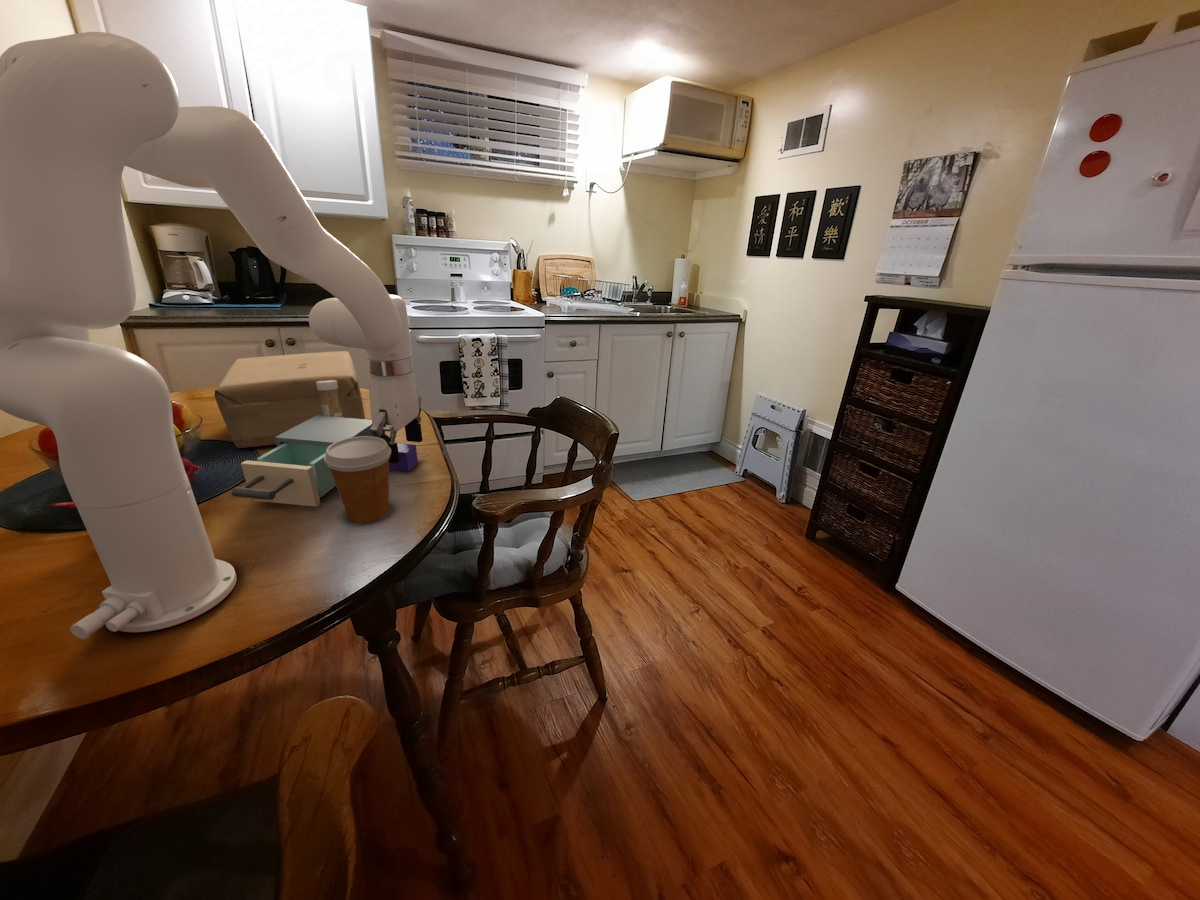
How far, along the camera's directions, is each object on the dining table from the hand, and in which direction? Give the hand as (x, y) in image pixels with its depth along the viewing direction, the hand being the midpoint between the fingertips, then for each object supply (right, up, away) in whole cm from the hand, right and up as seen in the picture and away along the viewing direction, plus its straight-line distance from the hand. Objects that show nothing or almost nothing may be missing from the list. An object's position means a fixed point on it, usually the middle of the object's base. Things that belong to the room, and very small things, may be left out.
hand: (403, 451), depth 96 cm
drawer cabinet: (-12, -4, -2) cm, 13 cm away
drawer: (-13, -8, -13) cm, 20 cm away
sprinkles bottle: (-19, +3, +12) cm, 23 cm away
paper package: (-30, +6, +18) cm, 36 cm away
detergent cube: (0, -3, +1) cm, 3 cm away
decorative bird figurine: (-31, -12, -21) cm, 39 cm away
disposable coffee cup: (0, -10, -15) cm, 18 cm away
